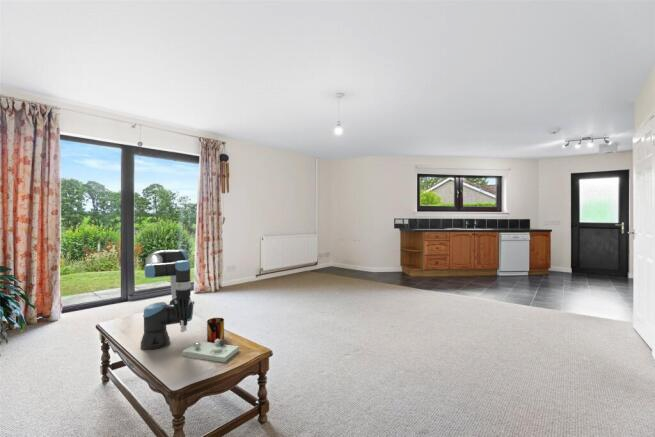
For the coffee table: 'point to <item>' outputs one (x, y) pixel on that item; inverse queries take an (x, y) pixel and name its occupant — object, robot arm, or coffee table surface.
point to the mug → (215, 329)
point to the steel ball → (197, 345)
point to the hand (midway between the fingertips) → (183, 331)
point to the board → (211, 351)
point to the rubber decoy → (222, 342)
